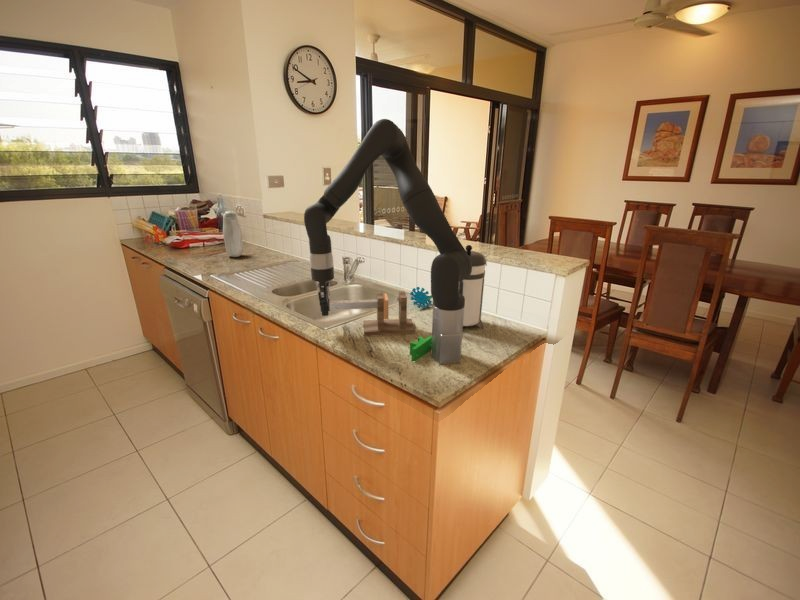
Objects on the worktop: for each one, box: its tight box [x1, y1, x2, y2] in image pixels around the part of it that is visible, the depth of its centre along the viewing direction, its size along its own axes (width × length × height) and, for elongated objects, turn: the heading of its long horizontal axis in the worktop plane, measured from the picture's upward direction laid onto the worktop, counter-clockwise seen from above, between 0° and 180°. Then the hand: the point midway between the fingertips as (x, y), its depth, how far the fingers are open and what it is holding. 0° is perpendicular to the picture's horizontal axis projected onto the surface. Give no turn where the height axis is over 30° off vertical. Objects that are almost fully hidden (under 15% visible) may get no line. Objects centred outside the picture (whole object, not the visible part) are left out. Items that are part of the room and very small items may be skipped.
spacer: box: [383, 293, 389, 320], centre depth 132 cm, size 7×2×7 cm, turn 7°
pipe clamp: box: [409, 334, 432, 362], centre depth 118 cm, size 11×4×5 cm, turn 145°
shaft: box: [319, 298, 378, 313], centre depth 131 cm, size 3×23×3 cm, turn 97°
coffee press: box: [459, 244, 488, 329], centre depth 134 cm, size 17×16×30 cm
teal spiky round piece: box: [409, 286, 433, 310], centre depth 158 cm, size 11×6×10 cm
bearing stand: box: [362, 290, 416, 337], centre depth 133 cm, size 10×18×13 cm, turn 97°
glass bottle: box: [222, 210, 244, 258], centre depth 229 cm, size 10×10×28 cm
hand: (325, 312), depth 131 cm, fingers closed on shaft, 3 cm apart
